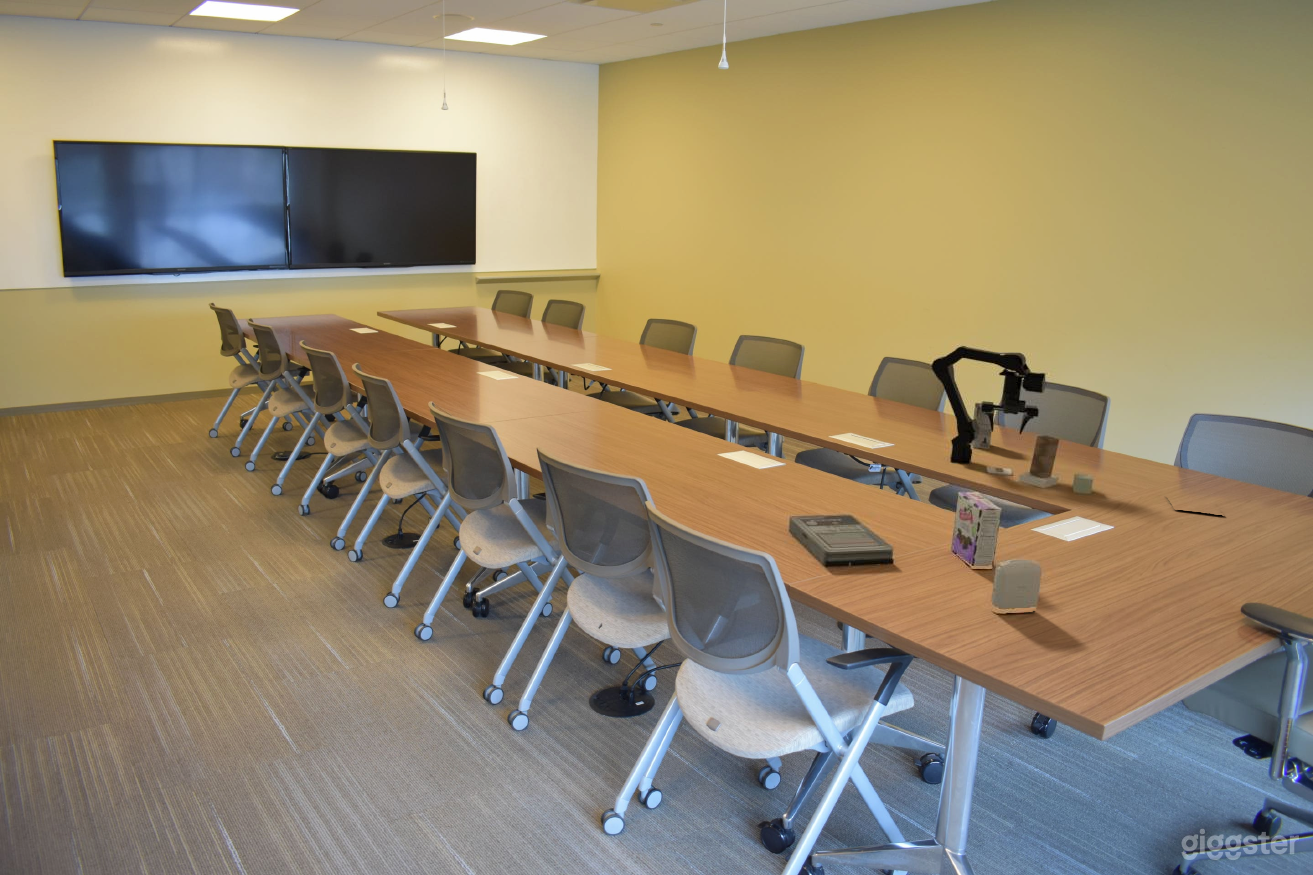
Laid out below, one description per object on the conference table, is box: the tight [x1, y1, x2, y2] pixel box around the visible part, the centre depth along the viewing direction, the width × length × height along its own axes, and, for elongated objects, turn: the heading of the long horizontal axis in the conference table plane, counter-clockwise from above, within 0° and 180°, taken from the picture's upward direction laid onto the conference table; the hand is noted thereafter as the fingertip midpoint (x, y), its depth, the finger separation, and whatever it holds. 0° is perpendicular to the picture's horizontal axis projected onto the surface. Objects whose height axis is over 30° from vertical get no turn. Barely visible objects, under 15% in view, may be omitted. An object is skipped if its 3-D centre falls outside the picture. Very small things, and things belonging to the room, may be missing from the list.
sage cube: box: [1071, 473, 1094, 495], centre depth 302 cm, size 5×5×5 cm
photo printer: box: [990, 558, 1042, 609], centre depth 206 cm, size 10×4×12 cm, turn 100°
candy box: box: [950, 491, 1002, 566], centre depth 236 cm, size 14×6×16 cm, turn 5°
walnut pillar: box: [1028, 435, 1060, 478], centre depth 309 cm, size 5×5×13 cm
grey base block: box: [1018, 470, 1060, 489], centre depth 310 cm, size 9×9×3 cm
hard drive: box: [788, 513, 894, 568], centre depth 243 cm, size 18×27×4 cm
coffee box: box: [971, 402, 996, 450], centre depth 356 cm, size 9×6×16 cm
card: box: [986, 466, 1013, 476], centre depth 322 cm, size 8×6×1 cm
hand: (1006, 432), depth 323 cm, fingers open, 9 cm apart
